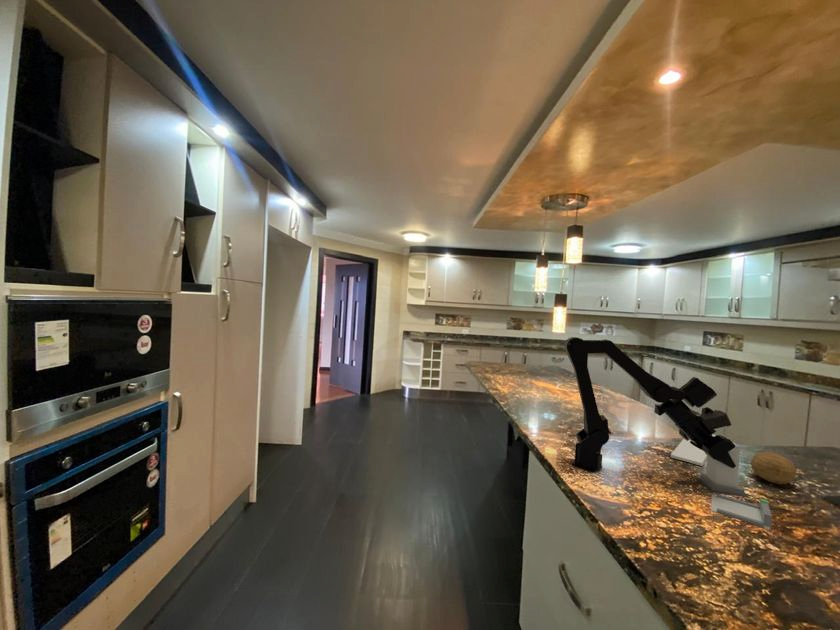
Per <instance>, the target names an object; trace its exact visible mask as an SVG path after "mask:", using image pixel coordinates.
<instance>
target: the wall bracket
mask: <svg viewBox="0 0 840 630" xmlns="http://www.w3.org/2000/svg"><path fill="white" fill-rule="evenodd" d="M716 435H717V434H712V436H716ZM690 441H691V440H688V441H687V440H685V439H684V438H683V439H682V440H681V441H680V442H679V444H678V445H677V446H676V448H675V449H674V450H673V451H672V452H671V454H670V458H671V459H676V460H680V461H684V462H687V463H691V464H694V465H697V466H701V467H702V466H704V465H705V464H707V455H706V454H705V452H704V451H703V450H701V449H699V448H697V447H695V446H694V445H692V444H691V443H690Z"/></svg>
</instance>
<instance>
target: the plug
mask: <svg viewBox="0 0 840 630" xmlns="http://www.w3.org/2000/svg"><path fill="white" fill-rule="evenodd" d="M721 435H722V436H724V437H726V436H725V435H724V434H721ZM726 438H728V439H730V438H729V437H726ZM733 443H734V444H735V445H736V446H735V448H733V449H732V450H730V451H729V452H728V453H729V455H730V456H731V458H732V460H733V462H734V463H735V465H736V467H734V468H731V467H729V466H727V465H725V464H723V463H721V462H719V461H717V460H714V459H712V458H711V457H709V456H708V455H707V462H706V471H705V472H706V473H705V474H699V478H700V480H701V481H702V482H703V483H705V484H706V485H707V486H708V487H709V488H710V489H712V490H713V491H719V492H725V493H731V494H737V495H744V493H745V489H744V488H743V487H742V486H740V485H739V471H740V456H741V455H740V453H741V446H740V445H739V444H737V443H735V442H733Z"/></svg>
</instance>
